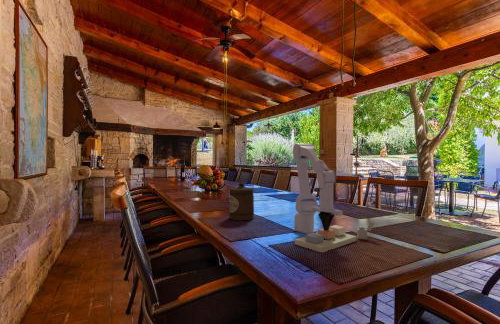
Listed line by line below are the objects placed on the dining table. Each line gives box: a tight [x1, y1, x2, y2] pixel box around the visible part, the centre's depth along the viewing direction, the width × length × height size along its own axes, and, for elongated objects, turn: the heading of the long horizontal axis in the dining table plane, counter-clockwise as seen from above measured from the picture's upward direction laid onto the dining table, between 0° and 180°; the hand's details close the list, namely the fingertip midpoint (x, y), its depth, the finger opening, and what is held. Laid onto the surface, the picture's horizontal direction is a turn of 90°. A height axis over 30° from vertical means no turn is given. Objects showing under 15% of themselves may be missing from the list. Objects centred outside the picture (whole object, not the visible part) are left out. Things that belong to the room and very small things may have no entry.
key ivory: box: [329, 224, 346, 236], centre depth 126 cm, size 5×5×3 cm
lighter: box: [356, 221, 375, 240], centre depth 127 cm, size 7×2×8 cm, turn 76°
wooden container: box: [228, 181, 255, 221], centre depth 169 cm, size 15×15×22 cm
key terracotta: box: [317, 227, 335, 239], centre depth 121 cm, size 5×5×3 cm
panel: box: [294, 232, 358, 254], centre depth 121 cm, size 14×25×2 cm, turn 129°
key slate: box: [305, 232, 323, 244], centre depth 116 cm, size 5×5×3 cm
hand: (326, 229), depth 121 cm, fingers closed
